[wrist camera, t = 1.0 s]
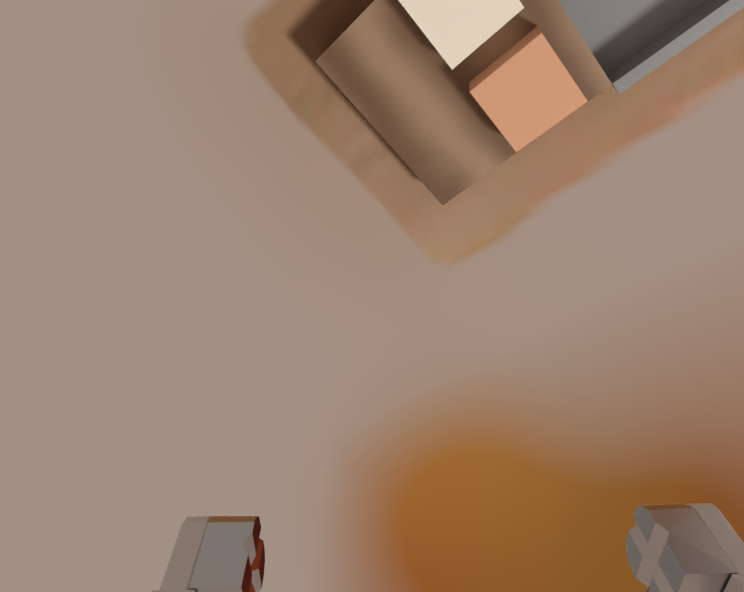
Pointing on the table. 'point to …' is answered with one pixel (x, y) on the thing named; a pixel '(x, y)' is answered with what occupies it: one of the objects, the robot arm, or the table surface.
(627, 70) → the box
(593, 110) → the table surface
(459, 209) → the table surface
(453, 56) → the cream tile
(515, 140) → the terracotta tile
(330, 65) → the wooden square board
